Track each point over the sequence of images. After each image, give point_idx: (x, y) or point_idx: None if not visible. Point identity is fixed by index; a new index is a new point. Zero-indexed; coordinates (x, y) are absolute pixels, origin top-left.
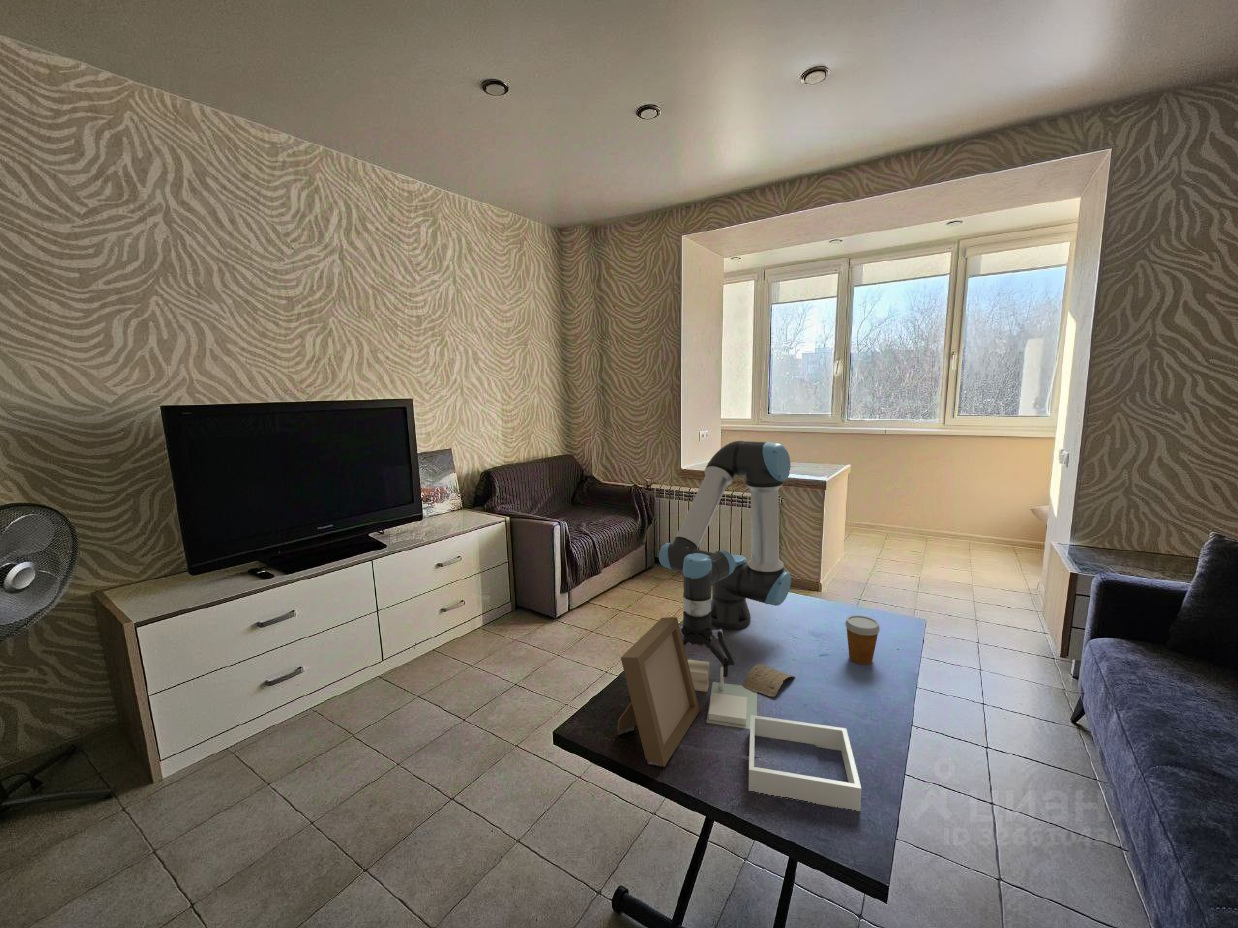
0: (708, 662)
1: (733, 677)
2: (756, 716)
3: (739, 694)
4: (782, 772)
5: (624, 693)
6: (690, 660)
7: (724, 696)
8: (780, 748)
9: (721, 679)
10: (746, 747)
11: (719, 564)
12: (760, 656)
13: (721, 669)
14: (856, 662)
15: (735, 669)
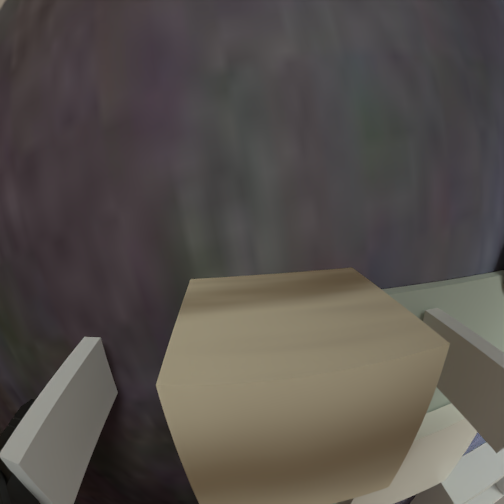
0: (437, 356)
1: (471, 182)
2: (466, 500)
3: None
4: None
5: (4, 428)
6: (198, 401)
7: (421, 446)
8: None
9: (452, 396)
10: (409, 497)
11: None
12: (501, 6)
13: (491, 439)
14: None
15: (468, 94)
